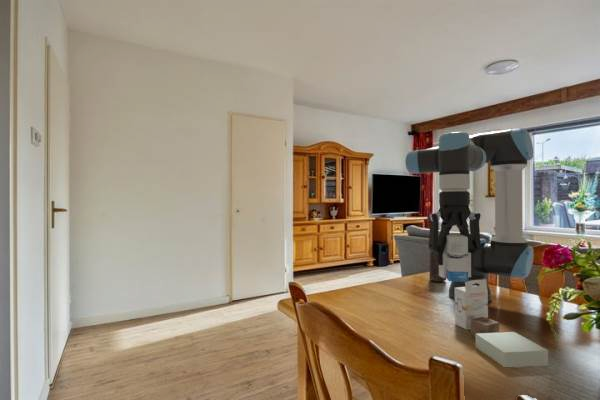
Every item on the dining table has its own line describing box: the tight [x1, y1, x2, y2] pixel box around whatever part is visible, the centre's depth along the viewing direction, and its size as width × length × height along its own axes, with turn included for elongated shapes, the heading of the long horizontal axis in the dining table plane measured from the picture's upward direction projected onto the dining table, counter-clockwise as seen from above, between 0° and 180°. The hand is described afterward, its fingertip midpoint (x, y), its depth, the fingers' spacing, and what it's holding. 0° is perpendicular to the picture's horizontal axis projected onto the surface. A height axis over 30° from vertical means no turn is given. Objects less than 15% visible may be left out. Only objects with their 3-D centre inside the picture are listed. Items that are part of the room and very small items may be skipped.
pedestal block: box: [474, 331, 549, 368], centre depth 83 cm, size 11×11×4 cm
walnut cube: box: [470, 317, 500, 339], centre depth 94 cm, size 5×5×5 cm
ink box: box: [443, 232, 468, 282], centre depth 89 cm, size 8×5×12 cm, turn 167°
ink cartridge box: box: [454, 278, 489, 330], centre depth 103 cm, size 9×5×15 cm, turn 106°
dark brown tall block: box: [429, 249, 447, 283], centre depth 157 cm, size 8×7×20 cm
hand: (454, 276), depth 89 cm, fingers closed on ink box, 6 cm apart
